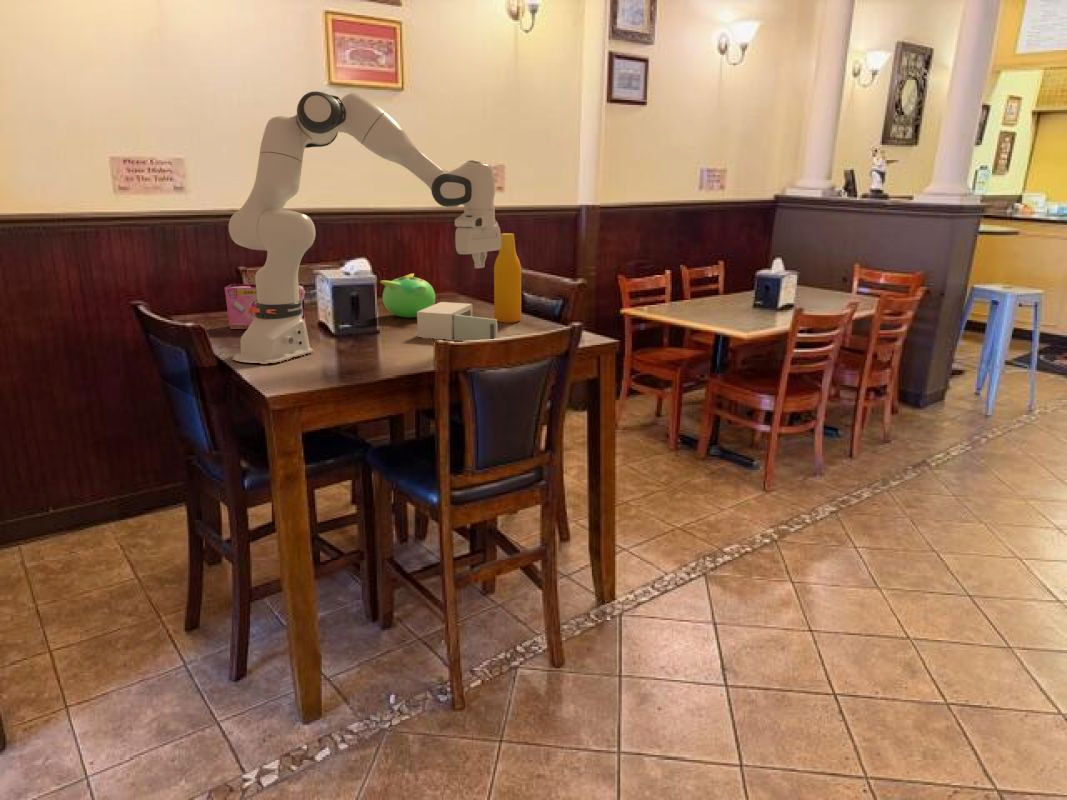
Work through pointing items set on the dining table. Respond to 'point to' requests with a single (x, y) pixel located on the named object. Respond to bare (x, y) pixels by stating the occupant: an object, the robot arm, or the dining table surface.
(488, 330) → the side door
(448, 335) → the cabinet housing
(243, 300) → the gum box
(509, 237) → the beer bottle
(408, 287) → the green horned ball
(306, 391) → the dining table surface
